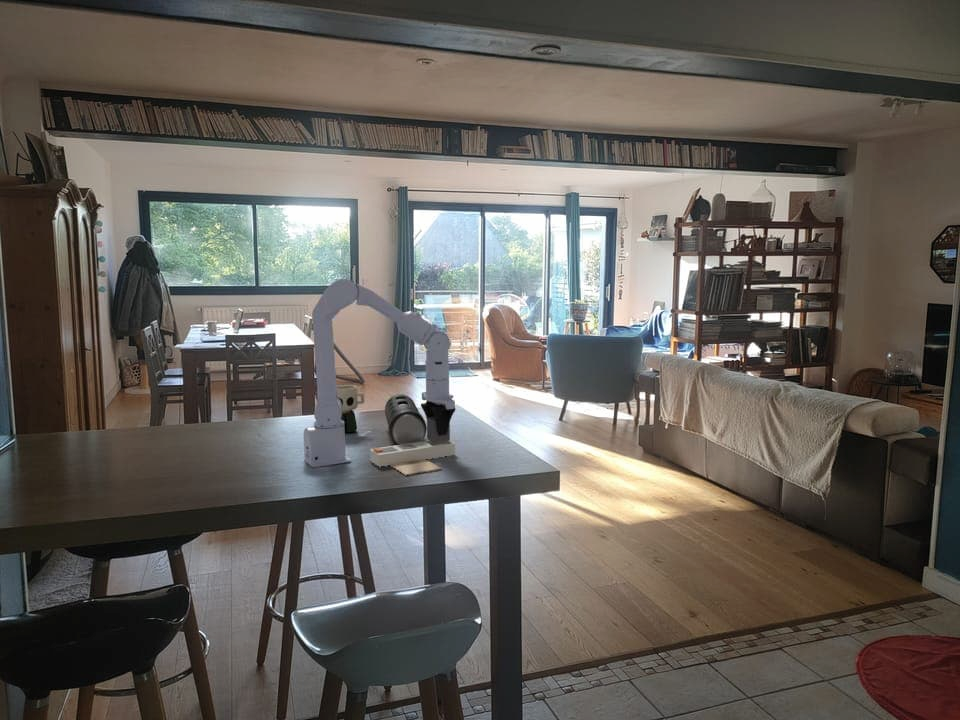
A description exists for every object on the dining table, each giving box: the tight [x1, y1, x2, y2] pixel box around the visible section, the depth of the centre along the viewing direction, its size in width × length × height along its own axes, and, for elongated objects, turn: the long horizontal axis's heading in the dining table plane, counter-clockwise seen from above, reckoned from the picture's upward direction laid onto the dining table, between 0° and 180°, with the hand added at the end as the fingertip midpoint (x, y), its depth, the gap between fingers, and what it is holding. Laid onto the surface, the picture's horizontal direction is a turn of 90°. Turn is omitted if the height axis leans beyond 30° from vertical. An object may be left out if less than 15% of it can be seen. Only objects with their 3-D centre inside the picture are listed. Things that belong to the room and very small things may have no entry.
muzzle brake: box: [384, 393, 427, 445], centre depth 185 cm, size 10×28×10 cm, turn 11°
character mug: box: [337, 384, 365, 433], centre depth 194 cm, size 11×7×13 cm, turn 101°
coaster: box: [389, 459, 443, 477], centre depth 158 cm, size 9×9×1 cm
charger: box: [426, 417, 451, 443], centre depth 169 cm, size 4×4×6 cm
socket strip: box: [369, 440, 456, 468], centre depth 166 cm, size 20×6×4 cm, turn 120°
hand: (438, 432), depth 169 cm, fingers closed on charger, 4 cm apart
